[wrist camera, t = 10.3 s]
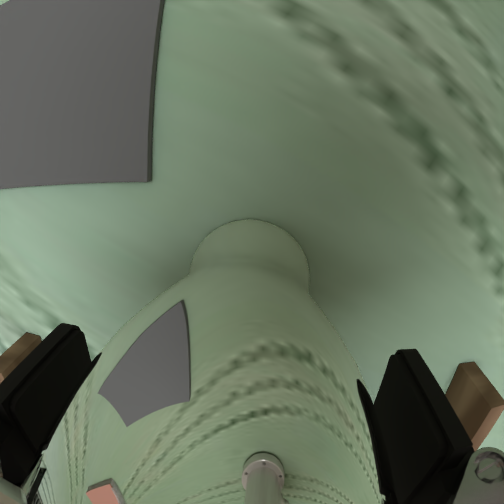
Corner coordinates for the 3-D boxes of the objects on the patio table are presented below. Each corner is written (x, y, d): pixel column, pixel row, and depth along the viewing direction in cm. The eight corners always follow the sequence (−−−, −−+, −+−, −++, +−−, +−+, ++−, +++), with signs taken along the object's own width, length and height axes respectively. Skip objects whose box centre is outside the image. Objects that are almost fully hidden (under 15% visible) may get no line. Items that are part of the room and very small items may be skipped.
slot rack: (474, 361, 18) (506, 403, 13) (422, 457, 21) (438, 497, 16) (26, 332, 19) (-12, 367, 14) (65, 431, 22) (43, 467, 17)
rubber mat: (173, -50, 11) (170, -55, 10) (151, 180, 15) (147, 181, 15) (0, 10, 11) (-5, 8, 11) (-19, 189, 16) (-25, 191, 15)
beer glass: (157, 274, 17) (-25, 521, 2) (250, 179, 15) (32, 524, 1) (249, 355, 18) (219, 624, 4) (344, 278, 16) (474, 575, 2)
